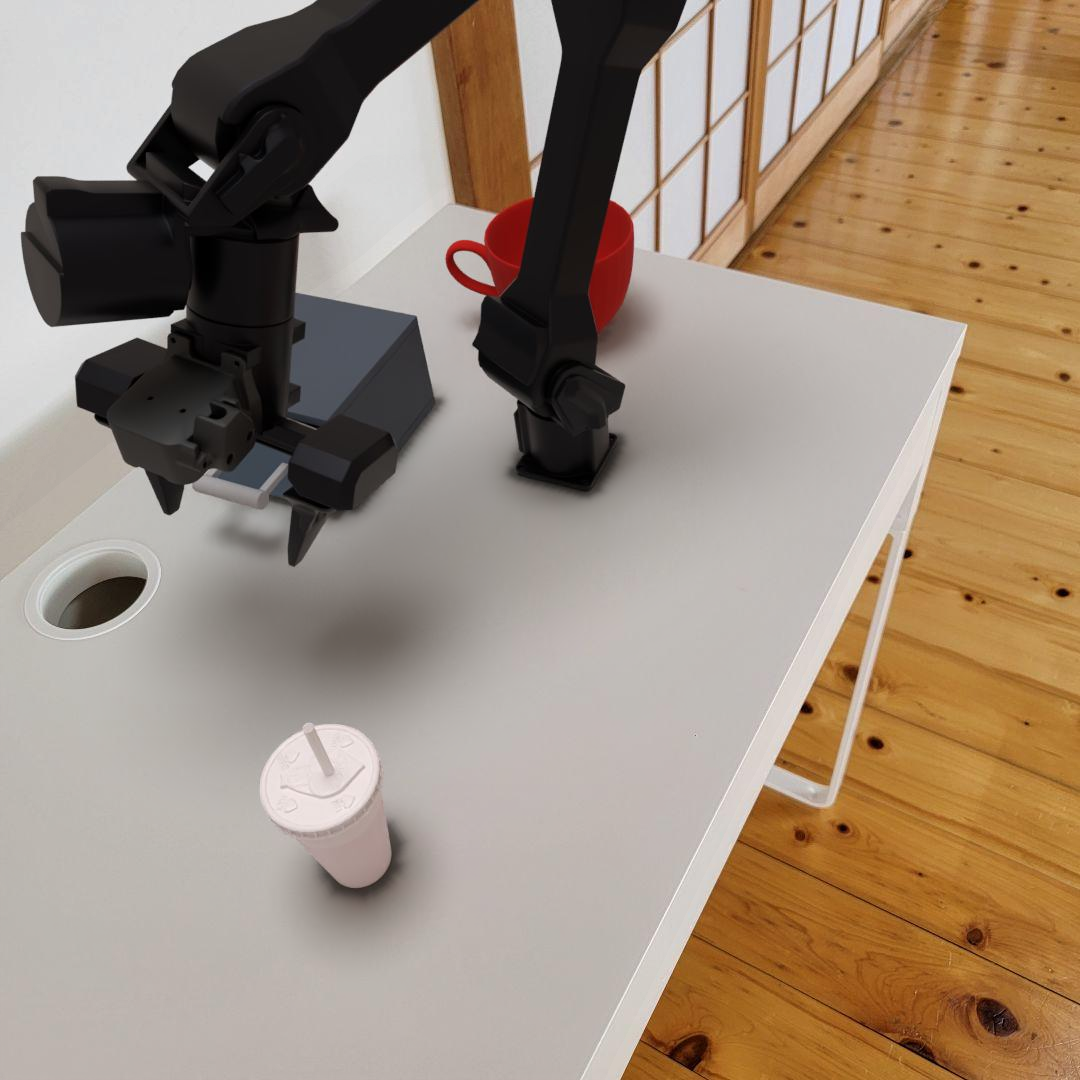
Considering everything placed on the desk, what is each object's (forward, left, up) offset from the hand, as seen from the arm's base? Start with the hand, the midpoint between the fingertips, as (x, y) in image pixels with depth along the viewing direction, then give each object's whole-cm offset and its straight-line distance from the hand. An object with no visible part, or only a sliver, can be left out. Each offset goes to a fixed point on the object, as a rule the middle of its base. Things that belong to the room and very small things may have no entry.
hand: (232, 537), depth 63 cm
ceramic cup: (-3, -40, -10) cm, 41 cm away
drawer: (+8, -15, -9) cm, 19 cm away
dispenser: (+8, -20, -10) cm, 24 cm away
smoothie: (-14, +12, -10) cm, 22 cm away
